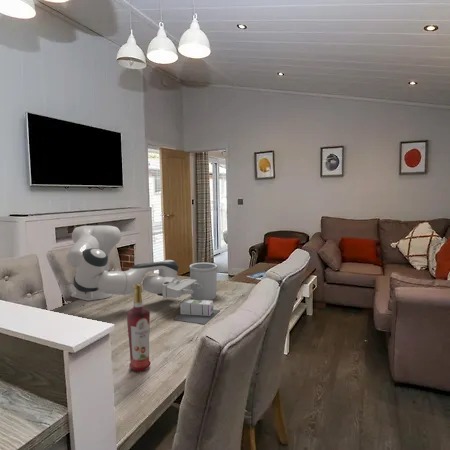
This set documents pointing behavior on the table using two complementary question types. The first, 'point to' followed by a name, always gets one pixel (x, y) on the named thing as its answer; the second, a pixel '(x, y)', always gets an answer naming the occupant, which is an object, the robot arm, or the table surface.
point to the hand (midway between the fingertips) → (197, 289)
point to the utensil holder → (204, 280)
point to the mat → (196, 318)
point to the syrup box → (196, 307)
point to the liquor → (138, 332)
